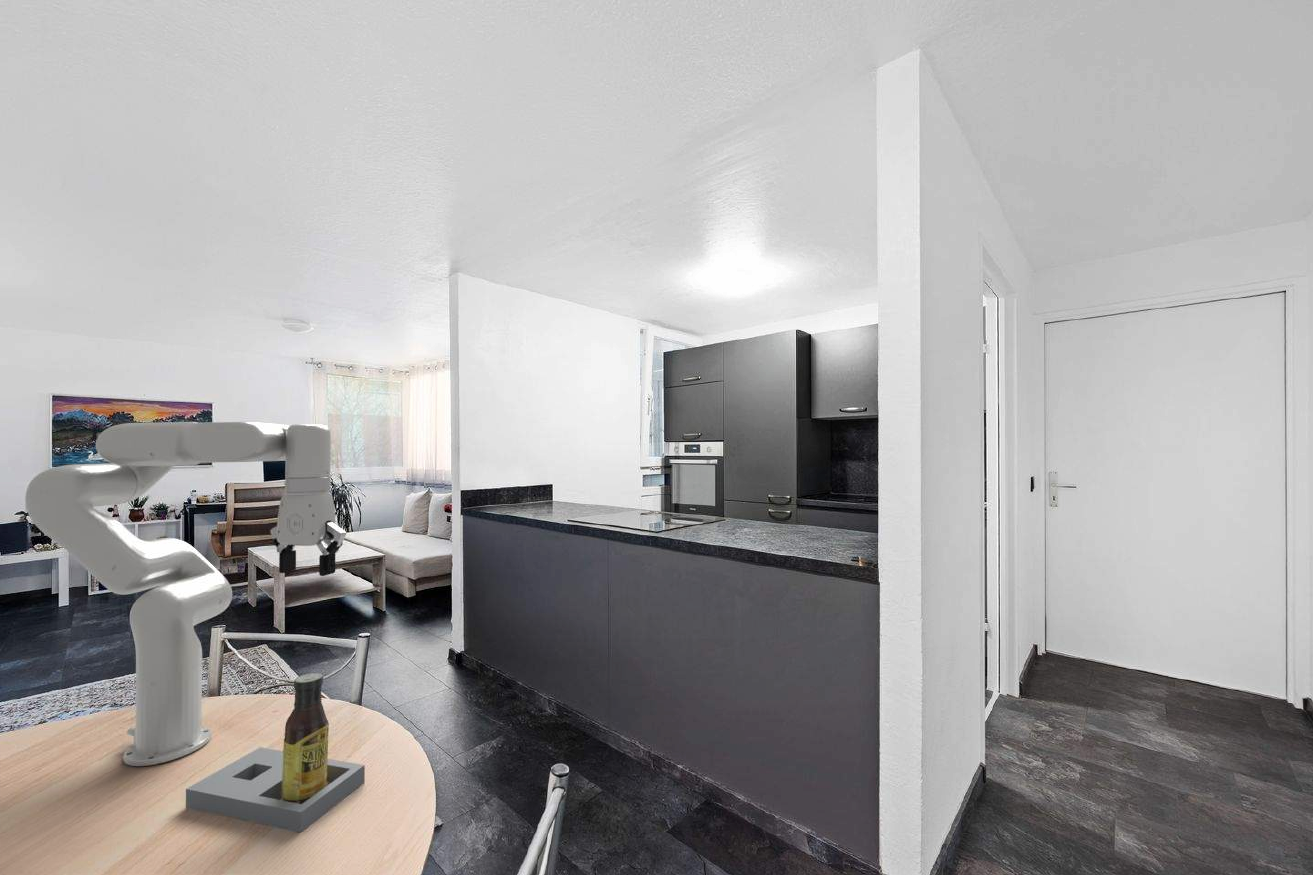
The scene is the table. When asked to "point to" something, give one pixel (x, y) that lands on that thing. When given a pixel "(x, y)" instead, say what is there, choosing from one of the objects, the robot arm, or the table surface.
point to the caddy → (270, 791)
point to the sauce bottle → (305, 742)
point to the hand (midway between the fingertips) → (307, 572)
